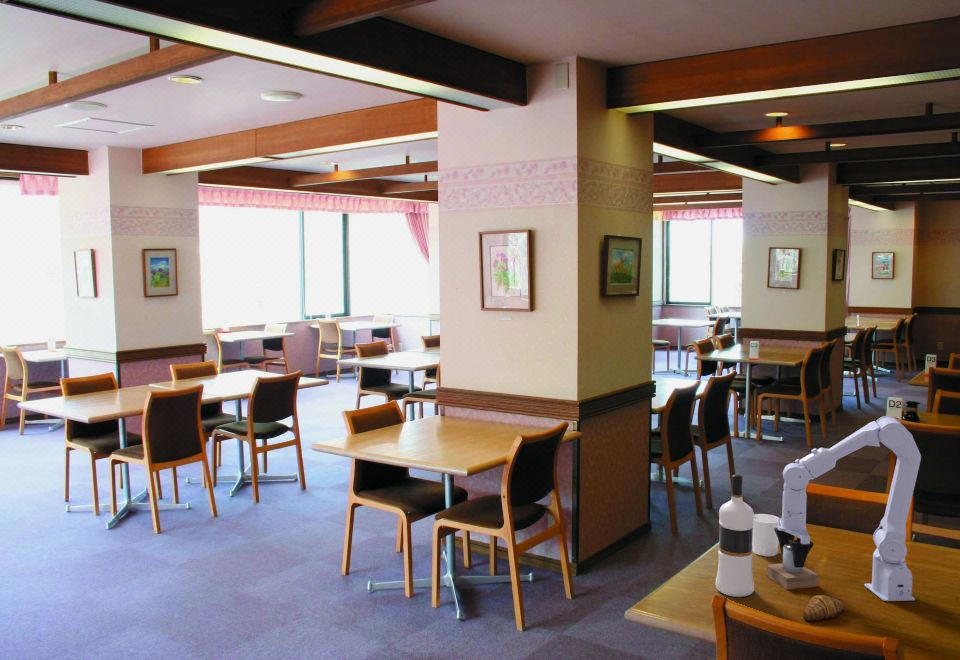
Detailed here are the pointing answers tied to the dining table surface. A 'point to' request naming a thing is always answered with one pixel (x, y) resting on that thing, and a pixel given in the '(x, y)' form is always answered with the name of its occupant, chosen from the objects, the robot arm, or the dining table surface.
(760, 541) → the white cup
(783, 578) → the walnut box
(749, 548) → the vodka
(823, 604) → the croissant
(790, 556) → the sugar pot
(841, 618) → the dining table surface
